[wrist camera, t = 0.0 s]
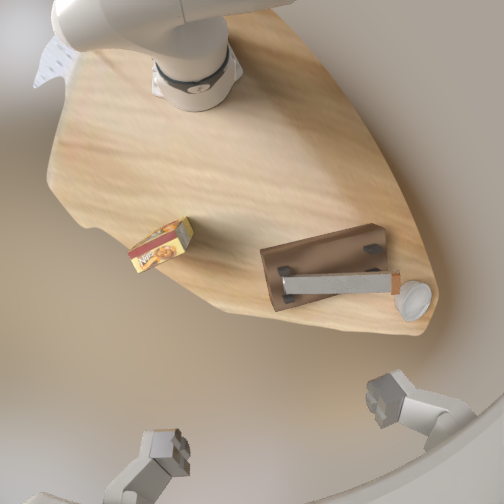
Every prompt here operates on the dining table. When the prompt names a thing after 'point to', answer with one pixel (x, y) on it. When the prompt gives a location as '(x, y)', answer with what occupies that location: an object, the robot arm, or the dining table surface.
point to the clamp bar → (342, 283)
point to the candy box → (162, 245)
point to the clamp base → (323, 260)
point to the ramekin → (413, 300)
